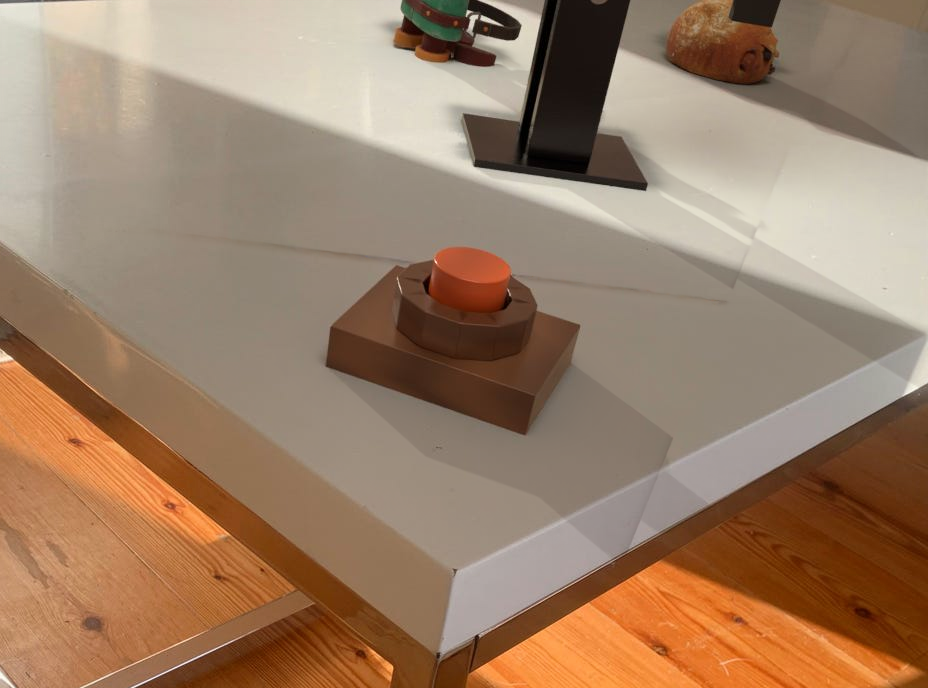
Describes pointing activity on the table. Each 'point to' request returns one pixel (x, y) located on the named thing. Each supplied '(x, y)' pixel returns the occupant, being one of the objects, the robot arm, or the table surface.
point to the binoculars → (452, 30)
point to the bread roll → (721, 44)
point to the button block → (454, 349)
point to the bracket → (563, 103)
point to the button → (469, 280)
